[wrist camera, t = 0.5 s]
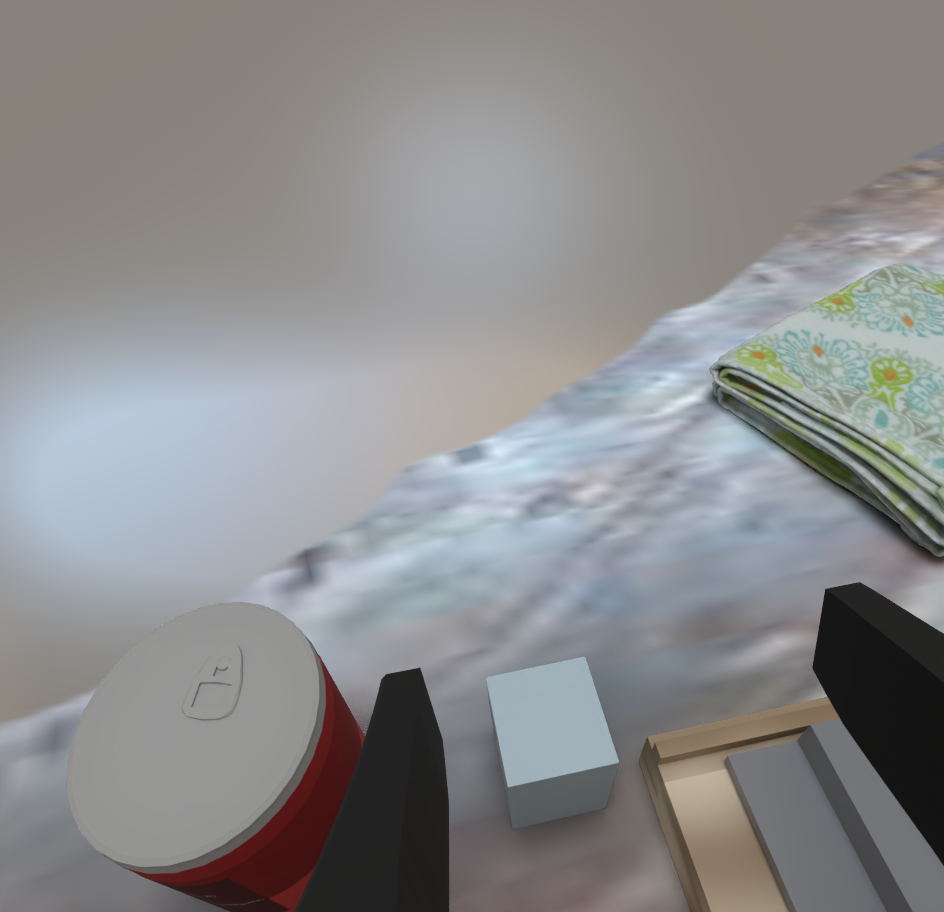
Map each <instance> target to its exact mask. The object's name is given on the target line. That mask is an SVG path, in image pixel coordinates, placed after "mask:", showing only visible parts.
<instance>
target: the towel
mask: <svg viewBox="0 0 944 912" xmlns="http://www.w3.org/2000/svg"><path fill="white" fill-rule="evenodd" d="M709 370H710V372H711V374H712V375H713V378H714V382H713V383H712V384H713V394H714V395H715V396H716V397H718V403H719V404H720V405H721V406H722V407H723V408H725V409H727V410H729V411H731V412H732V413H733V414H735V415H736V416H738V417H739V418H741V419H743V420H745V421H746V422H747V423H749V424H751V425H752V426H754V427H756V428H757V429H758V430H760V431H761V432H763V433H764V434H766V435H767V436H769V437H770V438H772V439H773V440H774V441H776V442H777V443H779V444H780V445H781V446H783V447H784V448H785V449H787V450H788V451H790V452H791V453H793V454H794V455H796V456H797V457H799V458H800V459H802V460H803V461H804V462H806V463H807V464H809V465H810V466H812V467H813V468H815V469H816V470H818V471H819V472H821V473H822V474H824V475H825V476H827V477H828V478H830V479H832V480H833V481H835V482H837V483H838V484H840V485H842V486H844V487H845V488H847V489H849V490H850V491H852V492H854V493H855V494H856V495H858V496H859V497H861V498H862V499H864V500H865V501H867V502H868V503H870V504H871V505H873V506H874V507H876V508H877V509H879V510H880V511H882V512H883V513H885V514H886V515H888V516H889V517H890V518H891V519H893V520H894V521H895V522H897V523H898V524H899V525H901V527H900V528H901V529H902V530H903V531H904V532H905V533H906V534H907V535H908V536H909V537H910V538H911V539H912V540H913V541H915V542H916V543H917V544H919V545H920V546H923V547H925V548H927V549H928V550H930V551H931V552H932V553H933V554H934V555H935V556H938V557H942V556H944V276H942V275H939V274H935V273H933V272H930V271H927V270H924V269H921V268H918V267H915V266H912V265H907V264H893V265H890V266H888V267H884V268H881V269H878V270H874V271H872V272H871V273H869V274H868V275H866V276H864V277H862V278H861V279H859V280H857V281H856V282H855V283H853V284H851V285H849V286H847V287H845V288H843V289H842V290H840V291H838V292H836V293H834V294H833V295H831V296H829V297H826V298H824V299H822V300H820V301H818V302H816V303H815V304H813V305H811V306H809V307H807V308H805V309H803V310H801V311H799V312H797V313H795V314H793V315H791V316H790V317H788V318H786V319H784V320H783V321H781V322H779V323H778V324H776V325H774V326H772V327H771V328H769V329H767V330H766V331H764V332H763V333H761V334H759V335H757V336H755V337H753V338H751V339H750V340H748V341H746V342H745V343H743V344H741V345H740V346H738V347H736V348H734V349H733V350H730V351H729V352H727V353H726V354H725V355H723V356H721V357H720V358H719V359H718V361H717V362H715V363H714V364H713V365H712V366H711V367H710V368H709Z"/></svg>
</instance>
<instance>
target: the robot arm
mask: <svg viewBox="0 0 944 912" xmlns="http://www.w3.org/2000/svg"><path fill="white" fill-rule="evenodd" d="M812 668H813V670H814V672H815V674H816V676H817V678H818V680H819V682H820V683H821V685H822V687H823V689H824V691H825V693H826V695H827V697H828V698H829V700H830V702H831V704H832V706H833V707H834V709H835V711H836V713H837V714H838V716H839V718H840V720H841V721H842V723H843V725H844V726H845V728H846V729H847V731H848V732H849V733H850V735H851V736H852V738H853V739H854V741H855V742H856V743H857V745H858V746H859V748H860V749H861V751H862V752H863V753H864V755H865V756H866V758H867V759H868V760H869V762H870V763H871V765H872V766H873V768H874V769H875V770H876V772H877V773H878V775H879V776H880V777H881V779H882V780H883V781H884V783H885V784H886V786H887V787H888V788H889V790H890V791H891V793H892V794H893V795H894V797H895V798H896V800H897V801H898V802H899V804H900V805H901V807H902V808H903V809H904V811H905V812H906V814H907V815H908V816H909V818H910V819H911V821H912V822H913V823H914V825H915V826H916V827H917V829H918V830H919V832H920V833H921V834H922V836H923V837H924V839H925V840H926V841H927V843H928V844H929V846H930V847H931V848H932V850H933V851H934V853H935V854H936V855H937V857H938V858H939V860H940V861H941V863H942V864H943V866H944V634H943V633H942V632H940V631H938V630H937V629H935V628H933V627H932V626H930V625H929V624H927V623H925V622H924V621H922V620H921V619H919V618H917V617H916V616H914V615H913V614H911V613H909V612H908V611H906V610H905V609H903V608H901V607H900V606H898V605H897V604H895V603H893V602H892V601H890V600H889V599H887V598H885V597H884V596H882V595H880V594H879V593H877V592H876V591H874V590H872V589H871V588H869V587H867V586H866V585H864V584H862V583H860V582H858V583H853V584H848V585H843V586H838V587H833V588H828V589H825V595H824V601H823V607H822V613H821V619H820V625H819V631H818V637H817V643H816V649H815V655H814V661H813V667H812ZM294 912H449V799H448V788H447V778H446V768H445V758H444V749H443V740H442V736H441V733H440V730H439V727H438V724H437V720H436V717H435V714H434V711H433V708H432V704H431V701H430V698H429V695H428V691H427V688H426V685H425V682H424V679H423V675H422V672H421V669H420V668H416V669H411V670H406V671H401V672H396V673H391V674H386V675H385V676H384V677H383V679H382V680H381V683H380V687H379V692H378V696H377V699H376V703H375V707H374V710H373V714H372V717H371V720H370V724H369V727H368V730H367V733H366V736H365V739H364V742H363V746H362V749H361V752H360V755H359V757H358V760H357V763H356V766H355V768H354V771H353V774H352V777H351V779H350V782H349V785H348V788H347V790H346V793H345V796H344V799H343V801H342V804H341V806H340V809H339V811H338V814H337V816H336V819H335V821H334V823H333V826H332V828H331V830H330V833H329V835H328V838H327V840H326V842H325V845H324V847H323V849H322V852H321V854H320V857H319V859H318V861H317V864H316V866H315V868H314V870H313V872H312V875H311V877H310V879H309V881H308V883H307V885H306V888H305V890H304V892H303V894H302V896H301V898H300V900H299V902H298V904H297V907H296V909H295V911H294Z"/></svg>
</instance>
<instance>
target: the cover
mask: <svg viewBox="0 0 944 912" xmlns="http://www.w3.org/2000/svg"><path fill="white" fill-rule="evenodd" d="M724 761H725V764H726V766H727V768H728V771H729V773H730V775H731V778H732V780H733V782H734V784H735V787H736V789H737V791H738V794H739V796H740V798H741V801H742V803H743V805H744V807H745V810H746V812H747V814H748V817H749V819H750V821H751V824H752V826H753V828H754V830H755V833H756V835H757V837H758V840H759V842H760V844H761V846H762V849H763V851H764V853H765V856H766V858H767V860H768V863H769V865H770V867H771V869H772V872H773V874H774V876H775V879H776V881H777V883H778V886H779V888H780V890H781V892H782V895H783V897H784V899H785V902H786V904H787V906H788V909H789V911H790V912H944V866H943V864H942V863H941V861H940V860H939V858H938V857H937V855H936V854H935V853H934V851H933V850H932V848H931V847H930V846H929V844H928V843H927V841H926V840H925V839H924V837H923V836H922V834H921V833H920V832H919V830H918V829H917V827H916V826H915V825H914V823H913V822H912V821H911V819H910V818H909V816H908V815H907V814H906V812H905V811H904V809H903V808H902V807H901V805H900V804H899V802H898V801H897V800H896V798H895V797H894V795H893V794H892V793H891V791H890V790H889V788H888V787H887V786H886V784H885V783H884V781H883V780H882V779H881V777H880V776H879V775H878V773H877V772H876V770H875V769H874V768H873V766H872V765H871V763H870V762H869V760H868V759H867V758H866V756H865V755H864V753H863V752H862V751H861V749H860V748H859V746H858V745H857V743H856V742H855V741H854V739H853V738H852V736H851V735H850V733H849V732H848V731H847V729H846V728H845V726H844V725H843V723H842V721H841V720H840V718H839V719H834V720H830V721H825V722H821V723H816V724H812V725H810V726H809V727H808V728H807V729H806V731H805V732H804V733H803V734H802V735H801V736H800V737H799V739H798V740H796V741H791V742H787V743H782V744H778V745H773V746H769V747H764V748H760V749H755V750H751V751H746V752H742V753H737V754H733V755H729V756H727V757H726V759H725V760H724Z"/></svg>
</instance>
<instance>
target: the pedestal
mask: <svg viewBox="0 0 944 912" xmlns="http://www.w3.org/2000/svg"><path fill="white" fill-rule="evenodd" d="M834 719H839V716H838V714H837V713H836V711H835V709H834V707H833V706H832V704H831V702H830V700H829V698H828V697H825V698H820V699H816V700H811V701H807V702H802V703H798V704H793V705H789V706H784V707H779V708H775V709H770V710H766V711H761V712H757V713H752V714H748V715H743V716H739V717H734V718H729V719H725V720H720V721H716V722H711V723H707V724H702V725H698V726H693V727H689V728H684V729H679V730H675V731H670V732H666V733H661V734H657V735H652V736H648V737H647V739H646V742H645V745H644V747H643V750H642V753H641V756H640V759H639V763H640V766H641V769H642V772H643V774H644V777H645V780H646V783H647V786H648V789H649V792H650V795H651V798H652V801H653V803H654V806H655V809H656V812H657V815H658V818H659V821H660V824H661V827H662V830H663V832H664V835H665V838H666V841H667V844H668V847H669V850H670V853H671V856H672V858H673V861H674V864H675V867H676V870H677V873H678V876H679V879H680V882H681V885H682V887H683V890H684V893H685V896H686V899H687V902H688V905H689V908H690V911H691V912H790V911H789V909H788V906H787V904H786V902H785V899H784V897H783V895H782V892H781V890H780V888H779V886H778V883H777V881H776V879H775V876H774V874H773V872H772V869H771V867H770V865H769V863H768V860H767V858H766V856H765V853H764V851H763V849H762V846H761V844H760V842H759V840H758V837H757V835H756V833H755V830H754V828H753V826H752V824H751V821H750V819H749V817H748V814H747V812H746V810H745V807H744V805H743V803H742V801H741V798H740V796H739V794H738V791H737V789H736V787H735V784H734V782H733V780H732V778H731V775H730V773H729V771H728V768H727V766H726V764H725V761H724V760H725V759H726V757H727V756H729V755H733V754H737V753H742V752H746V751H751V750H755V749H760V748H764V747H769V746H773V745H778V744H782V743H787V742H791V741H796V740H798V739H799V737H800V736H801V735H802V734H803V733H804V732H805V731H806V729H807V728H808V727H809V726H810V725H812V724H816V723H821V722H825V721H830V720H834Z"/></svg>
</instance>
